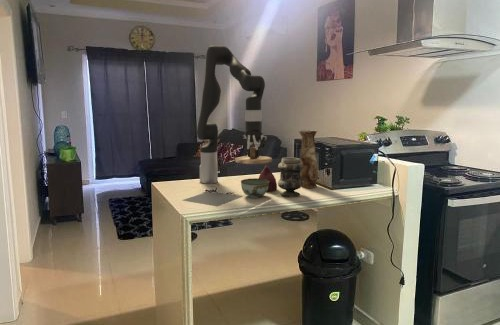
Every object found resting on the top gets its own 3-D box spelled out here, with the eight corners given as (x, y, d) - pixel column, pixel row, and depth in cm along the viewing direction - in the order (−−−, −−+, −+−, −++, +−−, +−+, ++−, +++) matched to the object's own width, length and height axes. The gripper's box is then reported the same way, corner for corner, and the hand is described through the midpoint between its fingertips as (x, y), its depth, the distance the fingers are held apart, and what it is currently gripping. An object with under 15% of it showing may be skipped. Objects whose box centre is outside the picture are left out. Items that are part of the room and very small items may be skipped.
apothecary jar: (303, 192, 190) (304, 156, 188) (301, 198, 179) (301, 160, 176) (279, 191, 193) (279, 156, 190) (275, 197, 182) (275, 159, 179)
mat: (182, 201, 175) (182, 200, 175) (208, 192, 192) (208, 191, 192) (217, 207, 164) (217, 206, 164) (242, 197, 181) (242, 196, 181)
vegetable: (274, 198, 192) (277, 171, 186) (254, 194, 194) (256, 168, 188) (278, 188, 202) (281, 163, 195) (258, 185, 203) (261, 159, 197)
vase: (318, 188, 199) (319, 130, 194) (297, 188, 200) (298, 130, 195) (317, 184, 209) (318, 129, 204) (297, 184, 210) (298, 129, 205)
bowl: (234, 198, 180) (234, 181, 178) (251, 192, 191) (251, 177, 189) (259, 202, 172) (259, 185, 171) (274, 196, 183) (274, 180, 182)
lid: (228, 162, 175) (227, 148, 174) (247, 157, 190) (247, 145, 189) (260, 165, 167) (260, 151, 166) (278, 160, 181) (278, 146, 180)
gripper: (236, 120, 176) (236, 157, 178) (262, 120, 168) (262, 159, 171) (245, 119, 182) (245, 155, 185) (271, 120, 175) (270, 157, 177)
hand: (253, 157), depth 178 cm, fingers closed on lid, 3 cm apart
